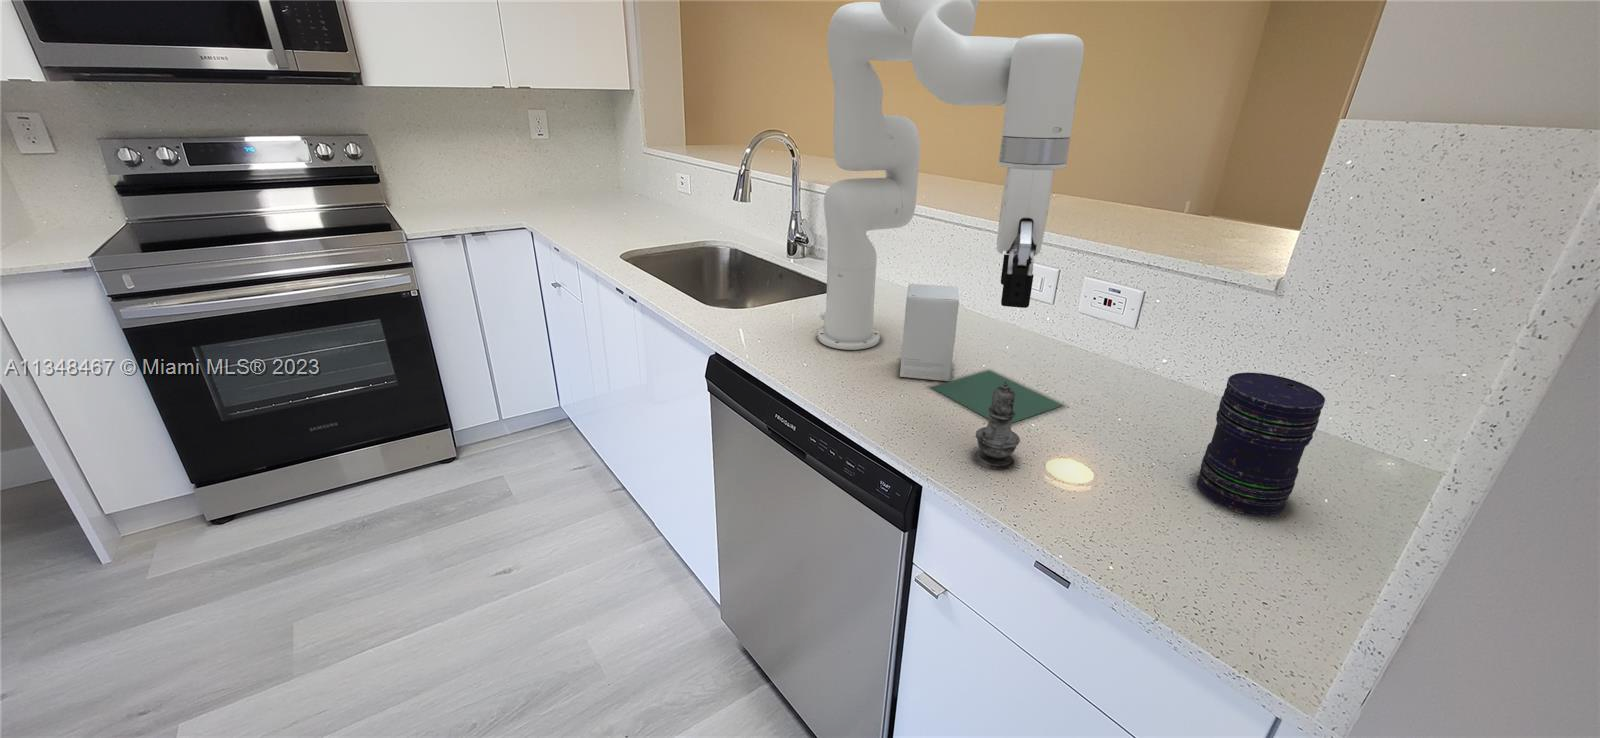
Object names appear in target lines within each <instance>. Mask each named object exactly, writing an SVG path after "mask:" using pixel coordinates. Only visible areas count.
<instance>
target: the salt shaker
mask: <svg viewBox="0 0 1600 738" xmlns="http://www.w3.org/2000/svg"><path fill="white" fill-rule="evenodd" d="M1003 384H1004V386H999V387H997V388H996V389H994V392H993V397H992V404H991V407H990V408H989V409H988V413H989V420H988V422H987V425H986V426H984V427H980V428H979V429H978V430H977V431H976V432H975V438H976V441H977V446H978V448H979V449H978V450H977V451H976V452H975V454H974V459H975V461H976V462H977V463H978V464H979V465H981V466H983V467H984V468H988V469H992V470H1007V469H1009V468H1011V467H1013V466H1014V464H1015V460H1014V458H1013V456H1012V454H1013V453H1014V452H1015V451H1016V449H1017V446H1018V445H1019V444H1020V443H1021V439H1020V437H1019V436H1018V434H1017V433H1016V432H1015V431H1013V430H1012V424H1013V423H1012V418H1013V417H1015V412H1014V411H1013V407H1014V400H1015V392H1014V390H1013V389H1011V388H1010V387H1008V386H1007V385H1008V383H1007V381H1005V382H1004V383H1003ZM1011 423H1012V424H1011Z"/></svg>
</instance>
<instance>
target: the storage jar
mask: <svg viewBox="0 0 1600 738" xmlns="http://www.w3.org/2000/svg"><path fill="white" fill-rule="evenodd" d="M1325 403H1326V397H1325V396H1324V395H1323V393H1321V392H1320V391H1319V390H1318V389H1315V388H1314V387H1312V386H1310V385H1308V384H1305V383H1302V382H1300V381H1297V380H1295V379H1291V378H1288V377H1283V376H1279V375H1275V374H1270V373H1261V372H1239V373H1234V374H1231V375H1230V376H1229V377H1228V379H1227V382H1226V387H1225V388H1224V391H1223V395H1222V396H1221V398H1220V402H1219V404H1218V410H1217V411H1216V417H1215V420H1216V425H1215V428H1214V431H1213V435H1212V438H1211V441H1210V442H1209V443H1208V444H1207V447H1206V449H1205V453H1204V455H1203V457H1202V459H1201V463H1200V469H1199V475H1198V477H1197V479H1196V488H1197V489H1198V491H1199V492H1200V493H1201V494H1202V495H1203V497H1205V498H1207V499H1208V500H1209V501H1211V502H1212V503H1214V504H1216V505H1218V506H1220V507H1222V508H1223V509H1226V510H1228V511H1232V512H1235V513H1238V514H1240V515H1241V514H1242V515H1245V516H1251V517H1258V518H1259V517H1260V518H1270V517H1275V516H1278V515H1280V514H1282V513H1283V512H1284V511H1285V508H1286V505H1287V502H1288V500H1289V498H1290V495H1291V494H1292V493H1293V491H1294V487H1295V485H1296V479H1297V478H1298V475H1299V465H1300V462H1301V459H1302V457H1303V454H1304V451H1305V448H1306V447H1307V446H1308V445H1309V444H1310V443H1311V441H1312V439H1313V438H1314V436H1313V435H1314V433H1315V431H1316V430H1317V427H1318V425H1319V422H1320V416H1321V414H1322V411H1321V410H1323V408H1324V406H1325Z"/></svg>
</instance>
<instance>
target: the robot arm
mask: <svg viewBox="0 0 1600 738" xmlns="http://www.w3.org/2000/svg"><path fill="white" fill-rule="evenodd" d="M979 3H980V0H879V1H855V2H849V3H846V4H844V5H842V6H840V7H838V8H837V9H836V10H835V12H834V13H833V15H832V17H831V19H830V22H829V26H828V30H827V38H826V39H827V40H826V45H827V46H826V47H827V57H828V64H829V68H830V72H831V77H832V82H833V91H834V92H833V94H834V95H833V98H834V99H833V132H832V133H833V137H832V145H833V146H832V147H833V158H834V161H835V164H836V165H837V167H838V168H840V169H842V170H843V171H844V170H845V171H849V172H869V171H885V177H859V178H847V179H841V180H838V181H836V182H833V183H832V184H830V186H828V188H827V189H826V191H825V193H824V196H823V212H824V220H825V225H826V239H827V259H826V263H827V266H826V267H827V268H826V302H825V304H826V305H825V306H826V307H825V308H826V309H825V312H823V311H822V312H820V314H819V318H820V319H821V320H823V321H824V323H823V327H822V328H820V329H819V330H818V332H817V339H818V341H819V342H820V343H821V344H822V345H824V346H827V347H829V348H833V349H836V350H837V349H838V350H845V351H846V350H847V351H856V350H857V351H858V350H864V349H870V348H873V347H874V346H876V345H878V344H879V343H880V339H881V335H880V332H879V331H877V329H875V328H874V313H875V312H874V311H875V310H874V309H875V296H876V279H877V278H876V277H877V251H876V248H875V246H874V245H873V242H871V240H870V239H869V237H868V235H867V232H868V231H869V232H870V231H876V230H877V231H878V230H890V229H891V230H892V229H899V228H904V227H905V226H907V225H908V224H909V223H911V221H912V219H913V217H914V215H915V210H916V204H917V195H918V192H917V191H918V182H919V168H920V166H919V165H920V155H921V154H920V153H921V140H920V135H919V131H918V128H917V126H916V124H915V123H914V121H912V120H911V119H910V118H909V117H907V116H903V115H898V114H897V115H896V114H895V115H894V114H893V115H892V114H890V115H888V114H887V115H885V114H884V115H883V99H884V90H883V85H882V82H881V80H880V78H879V75H878V73H877V71H876V70H875V68H874V67H873V65H872V64H871V63H870V61H871V62H872V61H873V62H877V61H878V62H899V63H900V62H907V63H912V69H913V71H914V75H915V77H916V79H917V80H918V81H919V83H920V84H921V85H922V86H923V87H924V88H925V89H926V90H927V91H928V92H930V94H932V95H933V96H934V97H935V98H936V99H938V100H939V101H941V102H944V103H946V104H949V105H953V106H993V107H1004V116H1003V124H1002V132H1001V142H1000V148H999V158H998V166H999V167H1001V168H1007V169H1006V173H1005V179H1004V182H1003V183H1004V184H1003V188H1002V189H1003V190H1002V197H1001V203H1000V204H1001V205H1000V212H999V213H1000V214H999V220H998V229H997V237H996V251H997V252H998V253H999V254H1000V255H1003V261H1002V268H1001V275H1000V284H1001V285H1002V293H1001V300H1000V304H1001V306H1002V307H1009V308H1010V307H1011V308H1020V309H1022V308H1023V309H1026V308H1029V306H1030V301H1031V296H1032V295H1031V294H1032V288H1033V283H1034V274H1033V272H1034V262H1035V257H1036V256H1037V255H1038V254H1039V255H1040V253H1041V249H1042V245H1043V240H1044V235H1045V231H1046V226H1047V225H1046V224H1047V221H1048V215H1049V210H1050V202H1051V196H1052V191H1053V190H1052V189H1053V184H1054V177H1055V170H1063V169H1066V168H1067V162H1068V157H1069V149H1070V143H1071V137H1072V130H1073V124H1074V118H1075V112H1076V105H1077V99H1078V93H1079V87H1080V81H1081V75H1082V68H1083V61H1084V55H1085V45H1084V42H1083V39H1082V38H1080V36H1077V35H1075V34H1070V33H1037V34H1030V35H1025V36H1023V37H1006V36H989V35H988V36H987V35H985V36H984V35H973V33H974V29H975V26H976V13H977V11H978V7H979ZM1003 252H1005V253H1004V254H1003Z"/></svg>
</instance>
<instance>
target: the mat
mask: <svg viewBox="0 0 1600 738" xmlns="http://www.w3.org/2000/svg"><path fill="white" fill-rule="evenodd" d="M1005 381H1007V383H1008V385H1007V386H1008V387H1010V388H1011V389H1013V390H1014V392H1015V400H1014V407H1013V411H1014V412H1015V417H1013V418H1012V423H1011V425H1012V424H1015V423H1017V422H1021V421H1023V420H1026V419H1029V418H1032V417H1034V416H1035V417H1036V416H1037V415H1041V414H1043V413H1046V412H1050V411H1052V410H1054V409H1057V408H1060V407H1063V404H1061V403H1059V402H1057V401H1054V400H1053V399H1051V398H1049V397H1046V396H1044V395H1042V394H1040V393H1038V392H1036V391H1033V390H1032V389H1030V388H1027V387H1025V386H1023V385H1021V384H1019V383H1016V382H1014V381H1012V380H1011V379H1008V378H1006V377H1004V376H1002V375H1000V374H998V373H995V372H993V371H991V370H986V371H983V372H979V373H975V374H972V375H968V376H965V377H962V378H958V379H955V380H950V381H946V382H944V383H941V384H937V385H933V386H931V387H930V388H931V389H932V390H934V391H936V392H937V393H939V394H941V395H942V396H943V395H944V396H945V397H947V398H949V399H950V400H952V401H954V402H956V403H958V404H959V405H961V406H963V407H964V408H967V409H968V410H970V411H972V412H974V413H976V414H978V415H979V416H981V417H983V418H984V419H986V420H988V421H989V413H988V409H989V408H990V407H991V404H992V397H993V392H994V389H996V388H997V387H999V386H1004V384H1003V383H1004V382H1005Z"/></svg>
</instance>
